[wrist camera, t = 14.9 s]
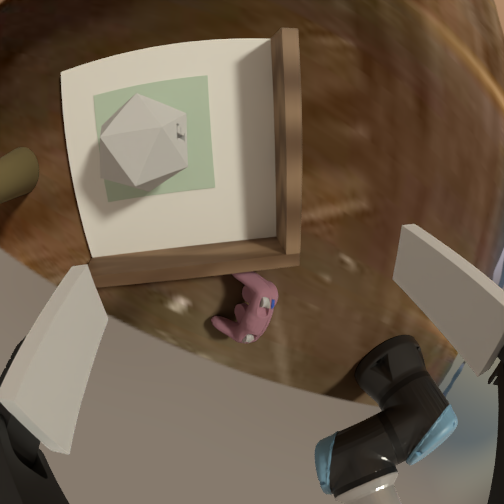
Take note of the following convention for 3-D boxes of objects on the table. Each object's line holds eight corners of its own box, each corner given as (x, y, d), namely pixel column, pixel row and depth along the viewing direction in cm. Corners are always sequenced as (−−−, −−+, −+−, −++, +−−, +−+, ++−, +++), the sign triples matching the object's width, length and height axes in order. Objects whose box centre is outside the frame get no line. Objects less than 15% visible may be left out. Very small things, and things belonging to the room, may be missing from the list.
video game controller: (233, 317, 41) (261, 350, 37) (207, 321, 38) (233, 358, 34) (257, 260, 37) (291, 292, 33) (228, 260, 34) (262, 297, 30)
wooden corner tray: (286, 243, 35) (299, 265, 30) (97, 264, 32) (84, 288, 27) (282, 41, 24) (297, 28, 19) (63, 72, 21) (40, 68, 16)
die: (166, 193, 29) (213, 179, 22) (89, 199, 24) (105, 182, 17) (164, 123, 28) (209, 88, 21) (90, 121, 23) (110, 76, 16)
